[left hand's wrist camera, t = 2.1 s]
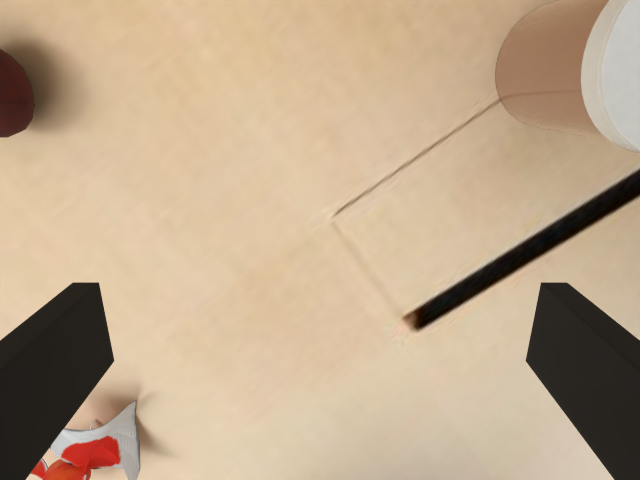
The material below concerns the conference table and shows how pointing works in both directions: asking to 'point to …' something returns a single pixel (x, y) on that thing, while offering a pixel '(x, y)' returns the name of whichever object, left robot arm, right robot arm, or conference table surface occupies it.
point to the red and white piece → (95, 450)
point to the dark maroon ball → (14, 97)
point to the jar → (549, 67)
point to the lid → (614, 73)
